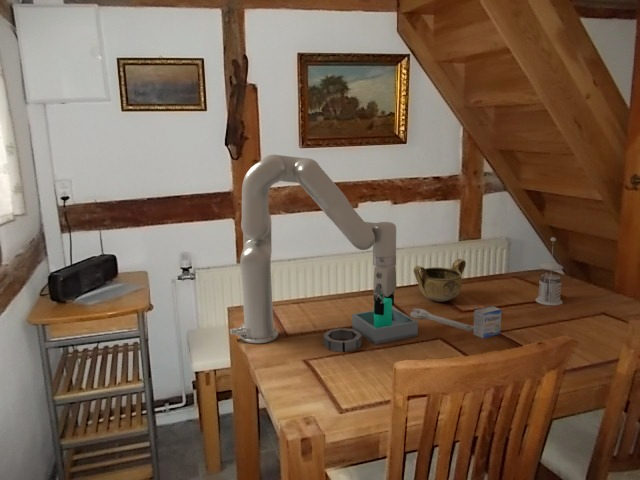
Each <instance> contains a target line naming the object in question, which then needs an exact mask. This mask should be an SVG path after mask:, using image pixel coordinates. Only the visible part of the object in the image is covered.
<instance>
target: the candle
mask: <svg viewBox="0 0 640 480" xmlns="http://www.w3.org/2000/svg"><path fill="white" fill-rule="evenodd" d="M380 299H381V297H380ZM383 303H384V315H377V314H374V327H375V328H380V327H385V326H391V325H392V307H393V306H392V299H391V298H384V300H383Z"/></svg>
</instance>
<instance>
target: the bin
mask: <svg viewBox="0 0 640 480" xmlns="http://www.w3.org/2000/svg"><path fill="white" fill-rule="evenodd" d="M351 327H352V328H351V329H354V330H356V331H358V332H359V333H360V334H362V337H364V338H365V339H367V340H368V341H369V342H371V343H372V344H373V345H380V344H384V343H385V344H386V343H389V342H394V341H398V340H399V341H401V340H403V339H404V340H405V339H409V338H415V337H418V336H419V335H418V333H419V332H418V330H419V322H418V320H416V319H414V317H412V316H409V315H407V314H406V313H404V312H402V311H400V310H399V309H397V308H396V307H394V306H392V325H391V326H385V327H380V328H375V327H374V309H373V310H367V311H362V312H356V313H352V314H351Z"/></svg>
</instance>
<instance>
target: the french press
mask: <svg viewBox="0 0 640 480" xmlns="http://www.w3.org/2000/svg"><path fill="white" fill-rule="evenodd" d="M550 241H552V244H554V242H556V241H557V238H556V237H551V238H550ZM551 249H552V251H551V258H554V257H553V255H554V254H553V253H554V247H552V248H551ZM539 267H540V269H542V270H546V271H551V272H550V273H548V272H545V273H544V274H541V275H540V278H539V281H538V283H539V284H538V297H536V298H535V299H534V301H535V302H536V303H538V304H541V305H544V306H560V305H562V304H563V303H564V302H563V301H562V299H561V292H562V287H561V286H562V280H561V278H562V277H561V276H559V275H558V274H557V275H556V274H553V273H552V271H553V272H554V271H561V270H562V269H563V268H564V267H563V266H562V265H561V264H559V263H557V262H553V261H549V262H543V263H541V264H540V265H539Z"/></svg>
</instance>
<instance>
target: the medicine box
mask: <svg viewBox="0 0 640 480" xmlns="http://www.w3.org/2000/svg"><path fill="white" fill-rule="evenodd" d="M473 312H474V313H473V327H474V330H473V335H474V336H476V337H479V338H480V339H483V340H484V339H487V338H490V337H494V336H497V335H498V336H499V335H500V334H501V329H502V327H501V326H502V309H501V308H499V307H496V306H493V305H491V306H487V307H483V308H479V309H475V310H474V311H473Z"/></svg>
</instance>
